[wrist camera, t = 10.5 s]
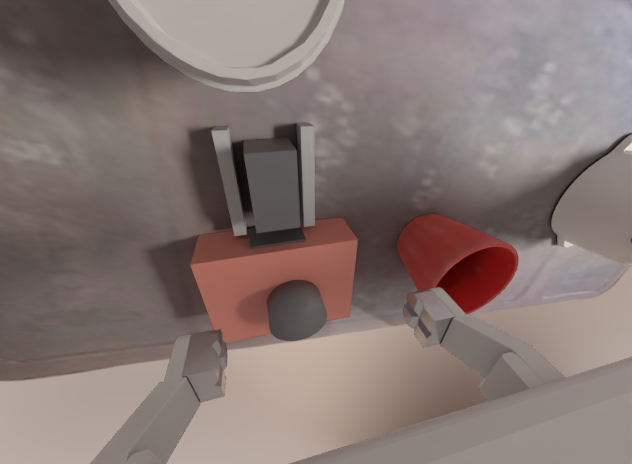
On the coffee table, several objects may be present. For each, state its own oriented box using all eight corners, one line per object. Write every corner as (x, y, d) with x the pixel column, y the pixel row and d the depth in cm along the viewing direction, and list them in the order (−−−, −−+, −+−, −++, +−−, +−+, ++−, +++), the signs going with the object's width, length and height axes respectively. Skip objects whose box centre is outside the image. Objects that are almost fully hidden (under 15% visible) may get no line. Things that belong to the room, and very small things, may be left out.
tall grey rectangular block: (287, 137, 23) (296, 150, 19) (291, 204, 27) (300, 227, 22) (243, 139, 22) (243, 153, 18) (254, 208, 26) (256, 233, 22)
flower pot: (378, 270, 36) (416, 326, 28) (397, 202, 30) (453, 247, 22) (438, 264, 38) (489, 313, 30) (467, 201, 33) (539, 240, 25)
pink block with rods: (347, 121, 23) (388, 137, 17) (337, 288, 35) (358, 336, 29) (165, 128, 20) (127, 152, 13) (222, 310, 32) (217, 370, 26)
